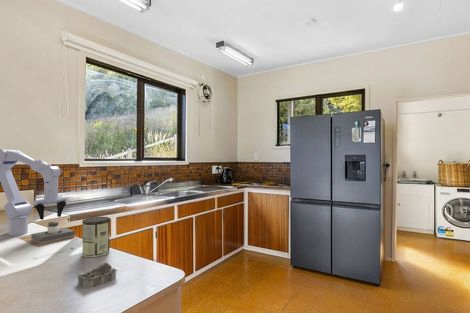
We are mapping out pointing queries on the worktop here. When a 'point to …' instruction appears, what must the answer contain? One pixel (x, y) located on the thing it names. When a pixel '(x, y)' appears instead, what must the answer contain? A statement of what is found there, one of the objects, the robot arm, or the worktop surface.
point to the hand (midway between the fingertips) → (50, 217)
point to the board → (28, 239)
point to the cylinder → (53, 228)
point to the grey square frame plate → (52, 236)
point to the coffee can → (96, 236)
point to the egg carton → (97, 276)
